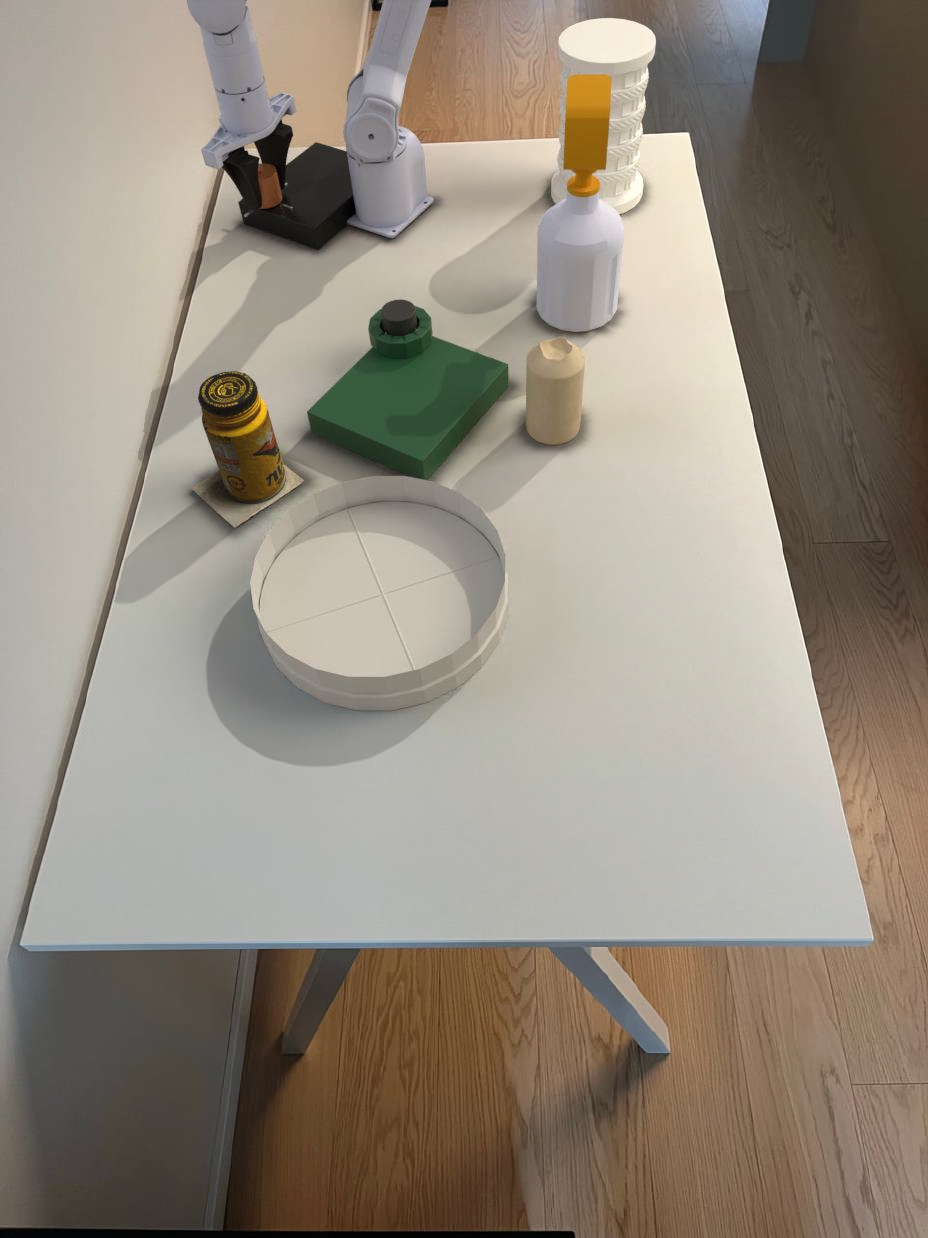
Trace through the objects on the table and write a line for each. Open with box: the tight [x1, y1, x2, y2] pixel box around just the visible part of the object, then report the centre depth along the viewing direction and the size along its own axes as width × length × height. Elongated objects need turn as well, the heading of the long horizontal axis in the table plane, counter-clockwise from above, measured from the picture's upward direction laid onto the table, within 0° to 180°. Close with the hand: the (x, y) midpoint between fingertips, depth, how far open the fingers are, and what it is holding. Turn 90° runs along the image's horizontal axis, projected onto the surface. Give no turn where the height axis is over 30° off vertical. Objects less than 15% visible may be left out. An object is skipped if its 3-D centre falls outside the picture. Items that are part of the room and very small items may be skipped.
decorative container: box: [550, 17, 657, 215], centre depth 113 cm, size 12×12×18 cm
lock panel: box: [237, 141, 356, 251], centre depth 121 cm, size 18×13×3 cm
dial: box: [258, 162, 282, 209], centre depth 116 cm, size 4×4×4 cm
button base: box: [306, 305, 510, 481], centre depth 97 cm, size 17×15×5 cm
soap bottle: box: [536, 75, 625, 333], centre depth 97 cm, size 9×9×25 cm
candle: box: [525, 336, 586, 446], centre depth 92 cm, size 6×6×10 cm
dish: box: [249, 475, 509, 712], centre depth 82 cm, size 22×22×5 cm
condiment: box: [191, 370, 305, 529], centre depth 89 cm, size 7×8×12 cm
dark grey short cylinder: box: [380, 298, 417, 336], centre depth 99 cm, size 4×4×2 cm
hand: (265, 196), depth 118 cm, fingers closed on dial, 4 cm apart
